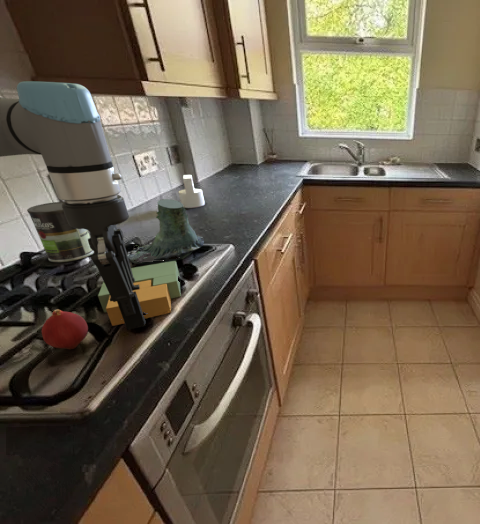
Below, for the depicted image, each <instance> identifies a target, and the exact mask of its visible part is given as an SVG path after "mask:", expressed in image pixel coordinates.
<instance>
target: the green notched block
mask: <svg viewBox="0 0 480 524" xmlns="http://www.w3.org/2000/svg"><path fill="white" fill-rule="evenodd" d="M131 270H132V273H133V277H134V279H135V282H134V283H136V282H142V281H147V280H151V281H152V285H153V286H157V285H162V284H167V287H168V291H169V294H170V298H171V300H172V299H176V298H180V297H181V296H182V293H181V281H180V282H179V281H178V276H179V277H180V271H179V268H178V264H177V260H175V261H170V262H165V263H156V264H146V265H140V266H136V267H131ZM102 281H103V280H102ZM109 297H110V294H109V292H108V290H107V287H106V285H105V283H104V281H103V282H102V284H101V287H100V289H99V292H98V294H97V298H98V300H99V302H100V305H101V308H102V310H103V313H107V311H106V307H107V303H108V300H109Z"/></svg>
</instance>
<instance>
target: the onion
mask: <svg viewBox="0 0 480 524" xmlns="http://www.w3.org/2000/svg"><path fill="white" fill-rule="evenodd" d="M88 332H89V326H88V323H87V321H86V320H85V319H84V317H83V316H81V315H79V314H77V313H74V312H71V311H63V310H61V309H54V310H53V311H52V313H51V315H50V316H49V317H48V318H46V320H45V321H44V323H43V325H42V327H41V336H42V339H43V342H45V343H46V345H48V346H50V347H52V348H55V349H66V350H75V349H76V348H77V347H78V346H79V345H80V344H81V343H82V342H83V341H84V340H85V338H86V337H87V335H88Z"/></svg>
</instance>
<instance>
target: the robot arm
mask: <svg viewBox="0 0 480 524" xmlns="http://www.w3.org/2000/svg"><path fill="white" fill-rule="evenodd" d="M16 92H17V95H18V98H11V97H9V98H7V97H2V96H1V97H0V157H10V156H11V157H12V156H22V155H23V156H25V155H36V156H37V155H38V156H39V155H40V156H41V157H42V159H43V162H44V164H45V167H46V170H47V172H48V176H49V178H50V180H51V183H52V186H53V189H54V191H55V194H56V197H57V198H58V199H59V200H60V201H62V202H63V204H62V208H63V211H64V214H65V216H66V219H67V221H68V224H69V225H70V226H71V227H73V228H76V229H86V230H88V233H89V236H90V238H88V243H89V246H90V248H91V249H92V250H93V251H94V253H93V254H91V255H90V260H91V261H92V262H93V264H94V266H95V267H96V268H97V270H98V273H99V276H101V279H102V281H104V283H105V285H106V287H107V290H108V292H109V294H110V301H113V302H116V301H117V303H118V306H119V308H120V311H121V314H122V317H123V320H124V322H125V323H124V326H125V328H126V330H127V331H130V330H135V329H138V328H141V327H142V328H143V327H146V319H145V318H144V315H143V312H142V309H141V306H140V303H139V300H138V297H137V294H136V291H135V292H133V290H138V289H140V287H139V285H134V284H133V283H134V282H135V279H134V277H133V273H132V270H131V268H132V266H131V263H130V262H131V261H129V259H128V251H127V248H126V244H125V240H124V234H123V229H122V228H118V227H117V225H120V224H123V223H125V222H126V221H127V220H128V219H129V216H130V215H129V212H128V209H127V205H126V203H125V198H124V197H123V196H121V195H119V194H120V193H121V192H122V190H121V186H120V184H119V181H120V180H122V179H123V176H122V175H121V173H118V172H116V173H115V172H114V171H115V168H114V164H113V160H112V157H111V156H112V155H111V153H110V150H109V147H108V143H107V139H106V136H105V132H104V128H103V126H102V121H101V115H100V114H99V112H98V111H97V110H98V109H97V108H96V105H95V103H94V100H93V97H92V94H91V92H90V90H89V89H88V88H87V87H85V86H84V85H82V84H80V83H71V82H55V81H36V80H35V81H33V80H32V81H30V80H29V81H28V80H27V81H20V82H18V84H17V85H16Z"/></svg>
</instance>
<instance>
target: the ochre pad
mask: <svg viewBox="0 0 480 524" xmlns="http://www.w3.org/2000/svg"><path fill="white" fill-rule="evenodd" d="M133 284H134V285H139V287H140V289H138V290H133V292H135V291H136V294H137V297H138V300H139V303H140V306H141V309H142V312H145V313H148V314H146V315H144V318H145V320H146V319H149V318H155V317H158V316H163V315H168V314H171V313H172V299H171V298H170V294H169V291H168V287H167V284H162V285H157V286H153V285H152V281H151V280H147V281H142V282H136V283H133ZM106 311H107V312H106V313H107V315H108V318H109V321H110V323H111V326H112V327H114V326H118V325H125V322H124V320H123V317H122V314H121V311H120V308H119V306H118V303H117V301H116V302H113V301H110V297H109V300H108V303H107V307H106ZM121 319H122V320H121Z"/></svg>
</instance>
